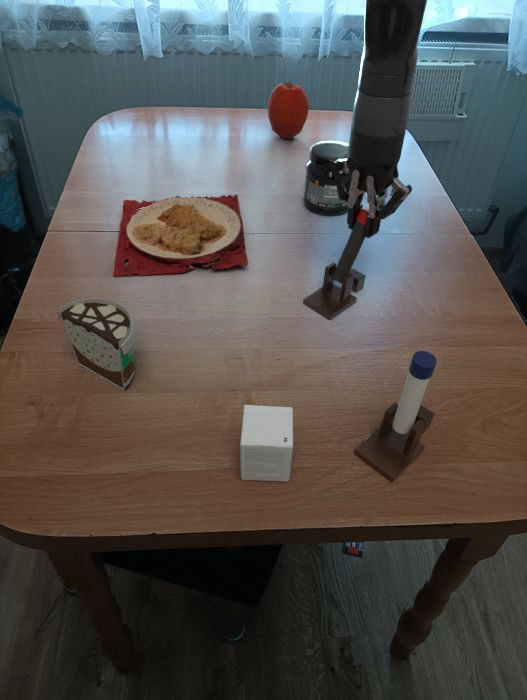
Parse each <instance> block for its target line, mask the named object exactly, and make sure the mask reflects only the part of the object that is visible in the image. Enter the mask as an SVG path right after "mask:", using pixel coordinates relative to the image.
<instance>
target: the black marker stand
mask: <svg viewBox="0 0 527 700" xmlns="http://www.w3.org/2000/svg"><path fill="white" fill-rule="evenodd" d="M336 266H337V263H335V262H331V263H329V264H327V265H326V266H325V267H324V275H323V282H322V286H321V287H320V288H318V289H317V290H315V291H314V292H312V293H310V294H309V295H307V296H306V297H304V298H303V300H302V304H303V305H305V306H306V307H308V308H309V309H311V310H313V311H314V312H316V313H317V314H319V315H321V316H322V317H323V318H325V319H327V320H329V321H332V320H333V319H334V318H335V317H337V316H339V315H340V314H342V313H343V312H344V311H346V310H347V309H349V308H350V307H352V306H354V305H355V304H356V303H357V300H358V297H357V296H355V295H353V294H352V292H353V293H355V294H358V293H359V292H360V291H361V290H363V289H364V286H365V285H364V284H365V281H366V274H364V273H362V272H361V271H358V270H356V269H355V268H352V269H351V271H350V273H349V274H347V275H346V276H344V277H343V283H341V287H339V286H337V285H336V284H335V280H333V279H332V276H333V273H334V271H335V269H336Z"/></svg>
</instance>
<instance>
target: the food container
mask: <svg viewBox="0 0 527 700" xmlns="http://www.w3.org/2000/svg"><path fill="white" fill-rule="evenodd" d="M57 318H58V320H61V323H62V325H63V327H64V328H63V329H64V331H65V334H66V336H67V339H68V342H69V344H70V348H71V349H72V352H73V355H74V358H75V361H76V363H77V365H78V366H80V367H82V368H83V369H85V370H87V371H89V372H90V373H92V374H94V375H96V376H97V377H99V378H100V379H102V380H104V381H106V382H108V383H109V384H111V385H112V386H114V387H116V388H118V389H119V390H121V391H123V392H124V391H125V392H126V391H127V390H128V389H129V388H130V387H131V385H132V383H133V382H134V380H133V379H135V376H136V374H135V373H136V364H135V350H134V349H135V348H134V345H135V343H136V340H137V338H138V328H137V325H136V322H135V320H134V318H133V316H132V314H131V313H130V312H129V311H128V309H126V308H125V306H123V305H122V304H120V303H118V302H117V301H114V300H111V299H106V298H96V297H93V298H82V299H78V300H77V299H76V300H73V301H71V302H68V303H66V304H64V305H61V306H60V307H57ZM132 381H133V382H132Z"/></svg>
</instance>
